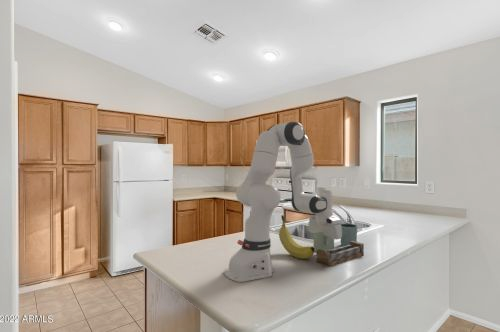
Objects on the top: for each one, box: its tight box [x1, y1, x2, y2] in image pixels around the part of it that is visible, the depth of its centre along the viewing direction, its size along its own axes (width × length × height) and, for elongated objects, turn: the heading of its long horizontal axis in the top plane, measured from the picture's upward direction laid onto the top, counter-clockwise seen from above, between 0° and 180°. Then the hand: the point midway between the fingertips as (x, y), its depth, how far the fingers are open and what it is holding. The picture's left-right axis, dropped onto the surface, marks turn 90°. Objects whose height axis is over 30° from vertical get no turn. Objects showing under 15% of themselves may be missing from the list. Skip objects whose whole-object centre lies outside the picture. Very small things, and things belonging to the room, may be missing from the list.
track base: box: [316, 241, 365, 267], centre depth 136 cm, size 28×7×6 cm, turn 125°
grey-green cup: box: [339, 223, 358, 247], centre depth 158 cm, size 10×10×12 cm
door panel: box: [313, 232, 335, 254], centre depth 144 cm, size 14×2×10 cm, turn 124°
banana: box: [278, 214, 315, 260], centre depth 140 cm, size 23×6×20 cm, turn 39°
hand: (324, 243), depth 144 cm, fingers closed on door panel, 2 cm apart
